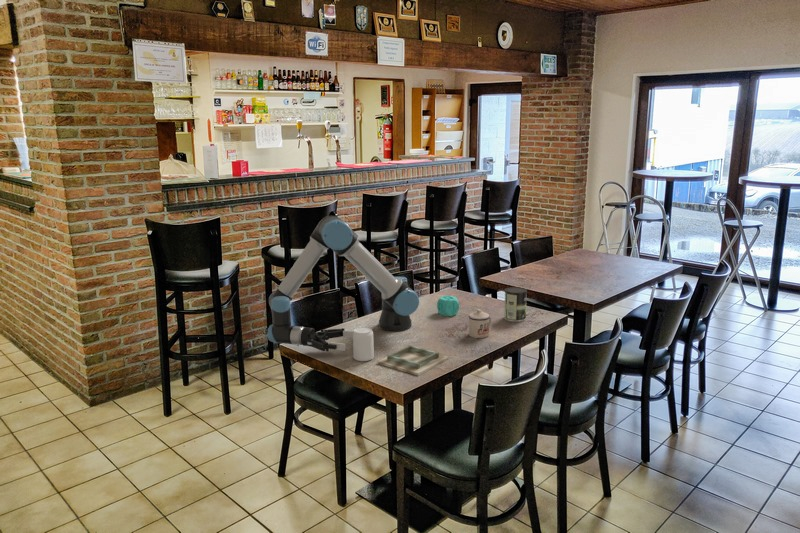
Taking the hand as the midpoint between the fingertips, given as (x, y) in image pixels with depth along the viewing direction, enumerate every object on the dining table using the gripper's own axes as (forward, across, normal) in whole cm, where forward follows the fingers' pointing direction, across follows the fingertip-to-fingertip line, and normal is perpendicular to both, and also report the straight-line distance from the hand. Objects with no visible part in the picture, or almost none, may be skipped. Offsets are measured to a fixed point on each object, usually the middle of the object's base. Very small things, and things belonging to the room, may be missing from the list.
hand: (351, 341), depth 244 cm
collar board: (+25, -3, -7) cm, 26 cm away
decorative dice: (+24, -65, -7) cm, 69 cm away
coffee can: (+56, -66, -7) cm, 87 cm away
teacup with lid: (+45, -40, -7) cm, 60 cm away
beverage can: (+5, 0, -7) cm, 9 cm away
